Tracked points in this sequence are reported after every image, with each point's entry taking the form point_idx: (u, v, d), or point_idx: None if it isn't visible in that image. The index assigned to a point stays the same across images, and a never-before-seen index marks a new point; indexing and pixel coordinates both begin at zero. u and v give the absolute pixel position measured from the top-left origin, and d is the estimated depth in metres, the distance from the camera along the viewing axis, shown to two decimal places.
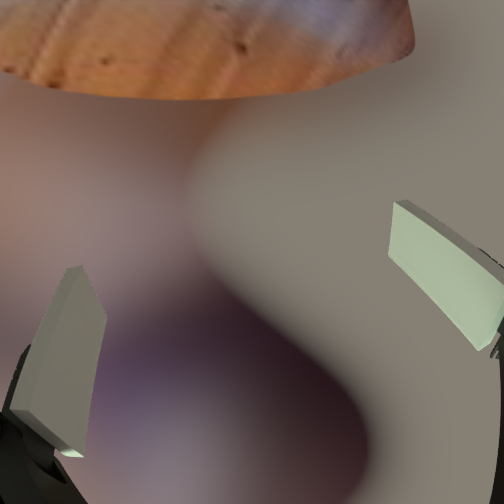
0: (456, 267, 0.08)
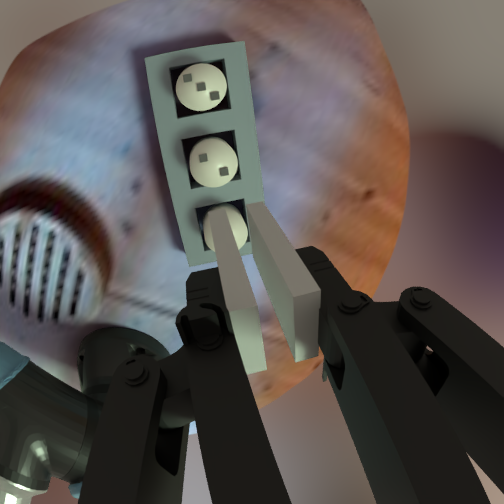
0: (272, 270, 0.10)
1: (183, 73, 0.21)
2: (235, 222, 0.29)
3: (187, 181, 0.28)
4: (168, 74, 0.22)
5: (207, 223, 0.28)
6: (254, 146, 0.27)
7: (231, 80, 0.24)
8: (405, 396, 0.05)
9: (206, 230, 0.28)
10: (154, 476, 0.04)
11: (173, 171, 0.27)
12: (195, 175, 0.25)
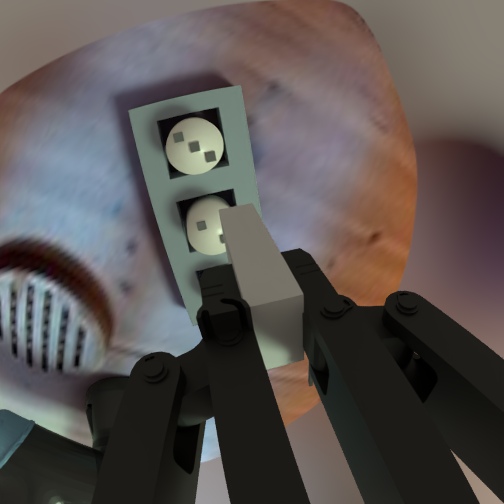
0: None
1: (173, 131, 0.20)
2: None
3: (185, 245, 0.26)
4: (156, 129, 0.21)
5: None
6: (256, 205, 0.26)
7: (228, 132, 0.23)
8: (390, 402, 0.05)
9: None
10: (171, 475, 0.04)
11: (170, 235, 0.26)
12: (194, 244, 0.24)
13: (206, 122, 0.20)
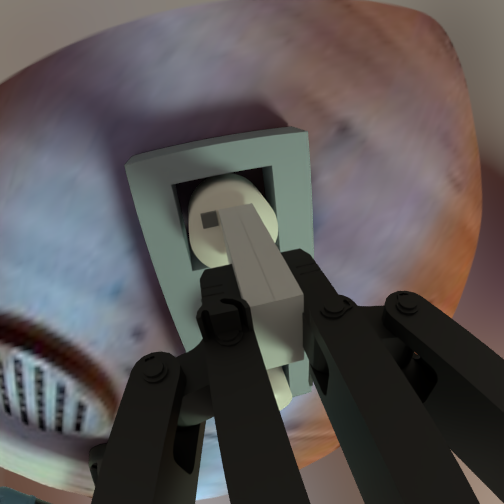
0: None
1: (201, 210, 0.13)
2: (278, 392, 0.20)
3: None
4: (171, 197, 0.14)
5: None
6: None
7: (282, 205, 0.16)
8: (391, 402, 0.05)
9: None
10: (171, 475, 0.04)
11: (191, 336, 0.19)
12: None
13: (254, 197, 0.13)
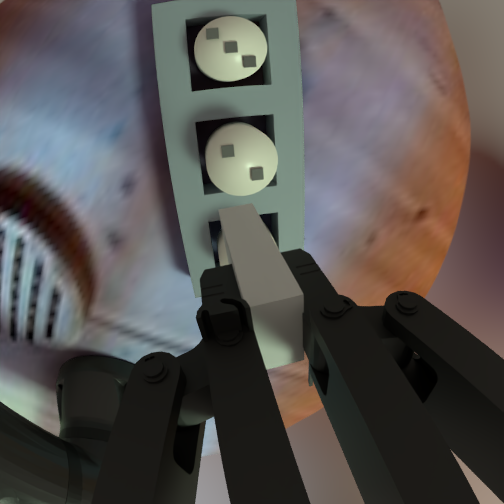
0: None
1: (206, 27, 0.13)
2: None
3: (200, 183, 0.19)
4: (183, 28, 0.14)
5: None
6: (298, 141, 0.19)
7: (274, 44, 0.15)
8: (390, 402, 0.05)
9: (223, 256, 0.20)
10: (171, 475, 0.04)
11: (181, 167, 0.19)
12: (214, 176, 0.17)
13: (249, 22, 0.13)
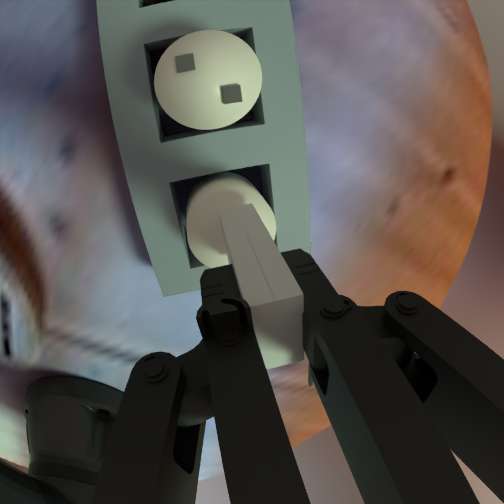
0: None
1: None
2: None
3: (153, 126, 0.12)
4: None
5: (193, 209, 0.13)
6: (290, 62, 0.12)
7: None
8: (390, 402, 0.05)
9: (191, 223, 0.13)
10: (171, 475, 0.04)
11: (126, 106, 0.12)
12: (166, 102, 0.10)
13: None
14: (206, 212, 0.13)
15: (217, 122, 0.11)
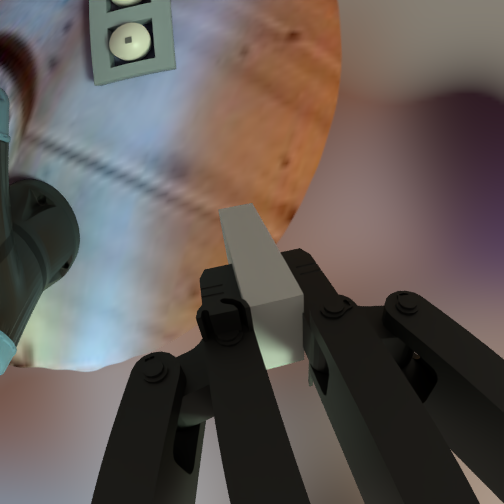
0: None
1: None
2: (137, 28, 0.22)
3: (104, 7, 0.20)
4: None
5: None
6: None
7: None
8: (390, 402, 0.05)
9: (111, 37, 0.22)
10: (171, 475, 0.04)
11: (95, 1, 0.20)
12: None
13: None
14: (119, 31, 0.22)
15: None
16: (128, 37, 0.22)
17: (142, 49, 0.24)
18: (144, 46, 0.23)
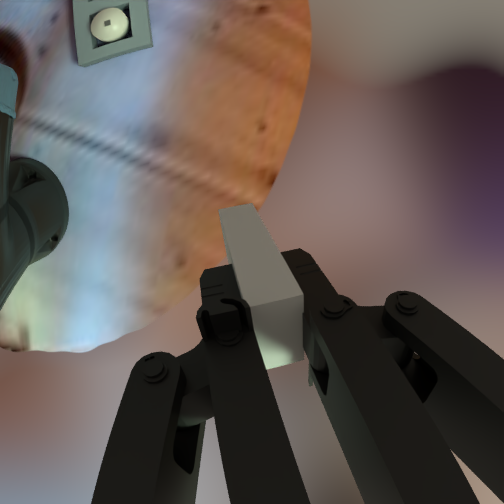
0: None
1: None
2: (115, 12, 0.22)
3: None
4: None
5: None
6: None
7: None
8: (391, 402, 0.05)
9: (92, 21, 0.22)
10: (171, 475, 0.04)
11: None
12: None
13: None
14: (99, 16, 0.22)
15: None
16: (107, 21, 0.22)
17: (120, 30, 0.24)
18: (121, 27, 0.24)
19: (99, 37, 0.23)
